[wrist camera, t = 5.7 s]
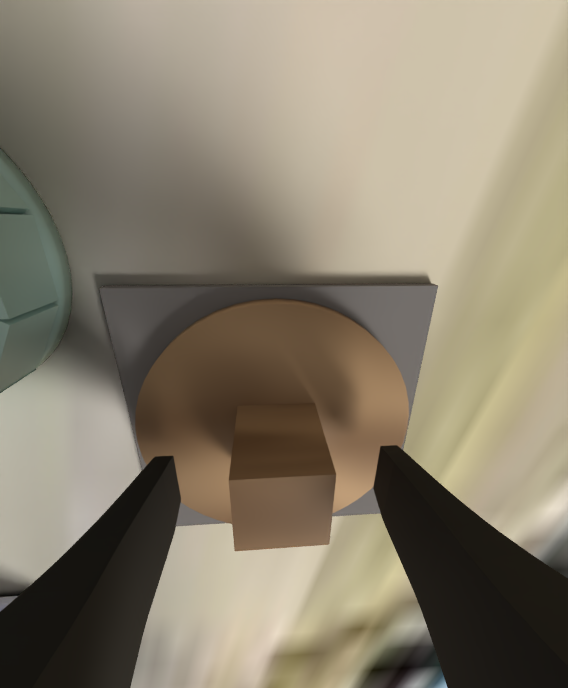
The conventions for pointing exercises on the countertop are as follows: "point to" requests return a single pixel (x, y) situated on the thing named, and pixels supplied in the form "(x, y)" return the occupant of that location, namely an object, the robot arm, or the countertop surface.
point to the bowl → (29, 278)
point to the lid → (273, 417)
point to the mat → (201, 300)
